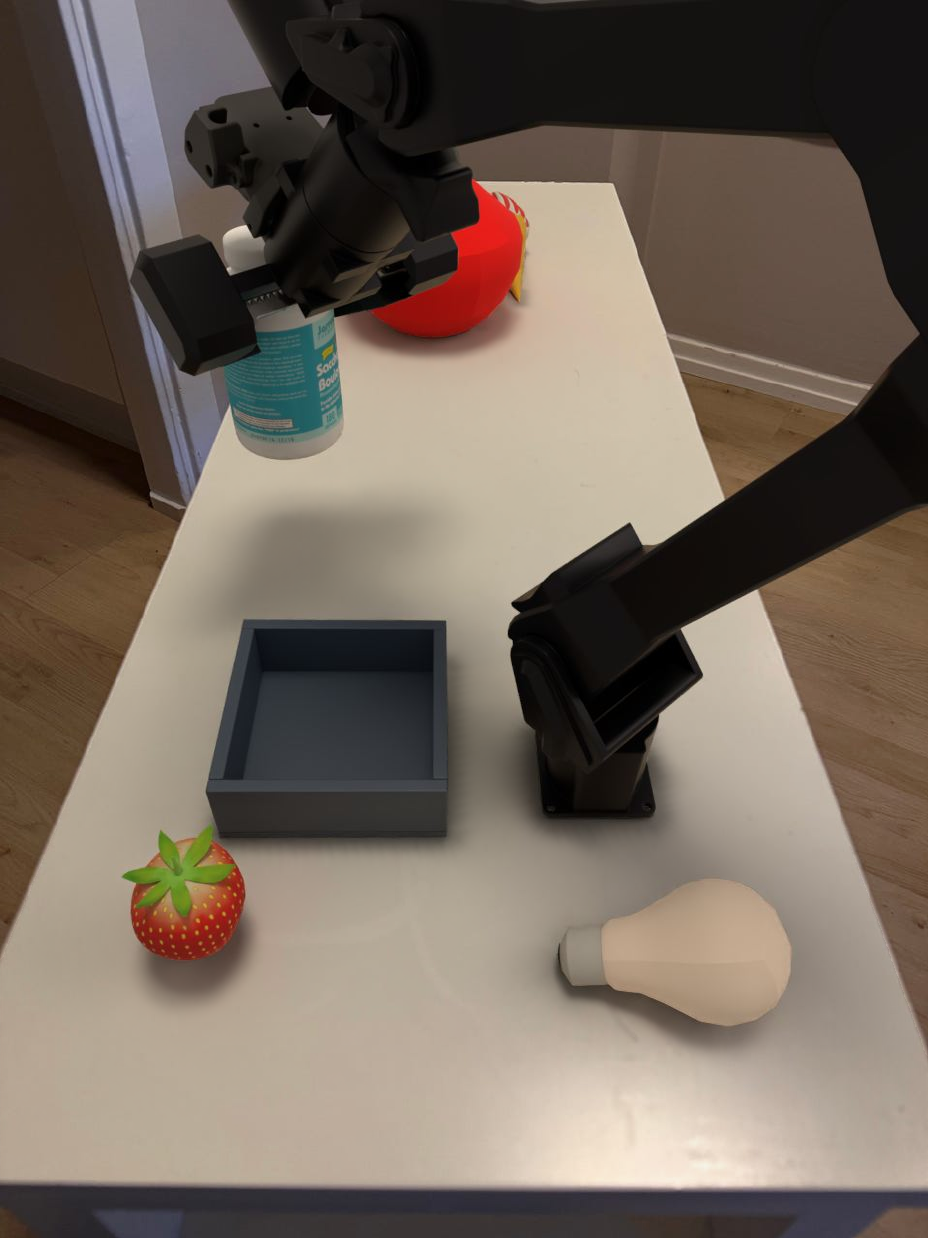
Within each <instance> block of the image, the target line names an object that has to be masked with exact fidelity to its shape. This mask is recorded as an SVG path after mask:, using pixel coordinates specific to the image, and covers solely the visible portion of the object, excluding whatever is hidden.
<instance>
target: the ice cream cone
mask: <svg viewBox="0 0 928 1238" xmlns="http://www.w3.org/2000/svg"><path fill="white" fill-rule="evenodd" d="M490 194H491V195H492V196H493V197H495V198H496V199H497V200H498V201H499V202H501V203H502V204H503V205H504V206H505V207H507V208H508V209H509V210H510V211H512V212H513V213H514V214H515V216H516V218H517V220H518V222H519V224H520V228H521V231H522V235H523V245H522V255H521V264H520V269H519V271H518V273H517V275H516V277H515V279H514V281H513V283H512V285H511V287H510V291H511V293H512V294H513V295H514V298H515V299H516V300H517V301H518V303H520V301H521V293H522V282H523V273H524V263H525V251H526V244H527V243H526V241H527V239H528V237H529V234H530V227H531V226H530V223H529V220H528V218H527V216H526V214H525V211H524V210H523V209H522V208H521V206H519V204H518V203H517V202H516V201H515V199H513V198H511V197H510V196H508V195H506V194H504V193H502V192H500V191H492V192H490Z"/></svg>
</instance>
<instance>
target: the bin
mask: <svg viewBox="0 0 928 1238" xmlns="http://www.w3.org/2000/svg"><path fill="white" fill-rule="evenodd" d="M447 625H448V624H447V620H446V619H291V618H290V619H282V618H281V619H280V618H279V619H277V618H275V619H271V618H270V619H269V618H267V619H265V618H264V619H263V618H262V619H261V618H259V619H257V618H251V619H249V618H244V619H243V620H242V624H241V629H240V633H239V638H238V642H237V648H236V651H235V656H234V661H233V665H232V668H231V669H232V670H231V674H230V678H229V683H228V687H227V692H226V696H225V701H224V706H223V710H222V715H221V719H220V722H219V723H220V724H219V727H218V731H217V732H218V733H217V737H216V742H215V744H214V745H215V747H214V749H213V754H212V759H211V765H210V768H209V773H208V777H207V779H208V780H207V783H206V787H205V796H206V798H207V801H208V804H209V807H210V810H211V813H212V816H213V819H214V823H215V825H216V828H217V831H218V835H219V838H315V837H316V838H337V837H338V838H349V837H350V838H351V837H352V838H354V837H357V838H359V837H361V838H365V837H367V838H368V837H369V838H371V837H373V838H375V837H377V838H378V837H383V838H385V837H387V838H388V837H391V838H392V837H447V836H448V805H449V804H448V802H449V799H448V798H449V772H448V771H449V770H448V769H449V764H448V763H449V761H448V760H449V758H448V757H449V756H448V750H449V749H448V649H447V648H448V639H447V637H448V635H447V634H448V629H447V628H448V627H447Z"/></svg>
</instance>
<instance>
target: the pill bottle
mask: <svg viewBox="0 0 928 1238" xmlns="http://www.w3.org/2000/svg"><path fill="white" fill-rule="evenodd" d="M264 245H265V242H264V241H263V239H262V237H259V238H253V237H252V235H251V233H250V231H249V229H248V227H247V225H246V224H244V225H240V226H237V227H234V228H231V229H230V230H228V231H226V232H225V234H224V235H223V237H222V246H223V254H224V259H225V261H226V263H227V265H228V266H229V267H226V269H227V271H228V273H229V275H233V274H237V273H240V272H243V271H246V270H249V269H252V268H256V267H259V266H262V265H265V264H266V262H265V258H264V249H263V248H264ZM281 291H282V290H280V291H279V292H280V293H281ZM273 294H274V295H275V292H274V293H273ZM267 296H268V297H269V294H268V295H267ZM261 298H262V300H263V296H262V297H261ZM256 299H257V298H256ZM256 299H254V300H255V301H256V302H257V300H256ZM250 301H251V300H250ZM250 301H248V302H249V303H250ZM336 332H337V331H336V321H335V318H334V309H331V310H329V311H326V312H323V313H320V314H317V315H315V316H312V317H309V318H306V319H305V317H304V315H303V313H302V312H301V310H300V308H299V306H295V307H292V308H289V309H286V310H283V311H281V312H278V313H275V314H272V315H269V316H266V317H263V318H260V319H258V320H257V328H256V336H257V342H258V343H257V345H258V346H259V348H260V350H261V353H259V354H257V355H254V356H251V357H248V358H246V359H243V360H240V361H238V362H235V363H232V364H230V365H227V366H224V367H222V370H223V377H224V381H225V387H226V392H227V396H228V402H229V407H230V411H231V417H232V421H233V426H234V430H235V431H234V432H235V435H236V437H237V440H238V441H239V443H240V444H241V445H242V447H244V448H245V449H246V450H247V451H249V452H250V453H252V454H254V455H256V456H258V457H262V458H265V459H269V460H276V461H291V460H294V461H295V460H300V459H301V460H302V459H306V458H310V457H313V456H317V455H319V454H321V453H323V452H325V451H327V450H329V449H330V448H331V447H333V446H334V445H335V444H336V443H337V442H338V441H339V439H340V438H341V436H342V434H343V431H344V426H345V419H344V406H343V405H344V404H343V395H342V385H341V373H340V363H339V355H338V354H339V353H338V341H337V333H336Z"/></svg>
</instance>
